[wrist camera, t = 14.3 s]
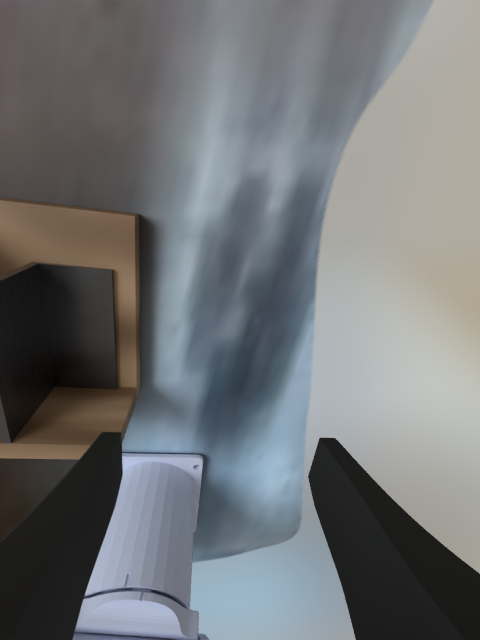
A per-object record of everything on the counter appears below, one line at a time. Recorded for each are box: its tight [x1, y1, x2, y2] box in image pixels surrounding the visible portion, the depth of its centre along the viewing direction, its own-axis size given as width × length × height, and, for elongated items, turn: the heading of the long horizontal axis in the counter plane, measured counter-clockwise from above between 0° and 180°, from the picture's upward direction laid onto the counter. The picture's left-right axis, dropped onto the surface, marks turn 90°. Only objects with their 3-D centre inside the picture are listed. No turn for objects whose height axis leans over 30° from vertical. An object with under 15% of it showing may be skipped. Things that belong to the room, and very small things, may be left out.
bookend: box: [0, 262, 118, 444], centre depth 16 cm, size 8×4×5 cm, turn 173°
